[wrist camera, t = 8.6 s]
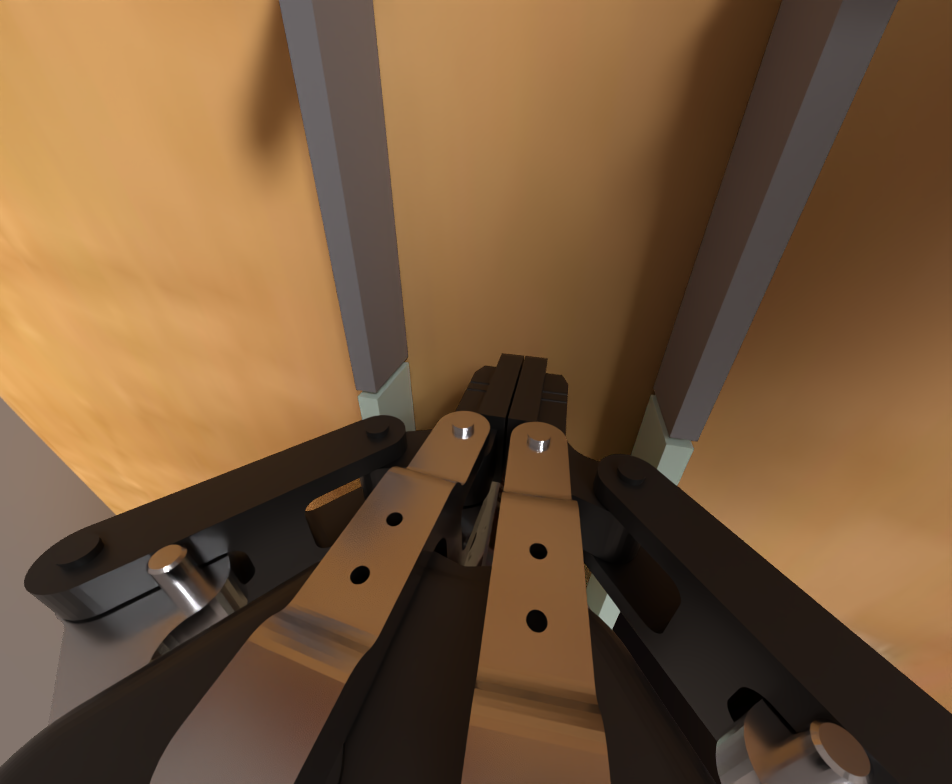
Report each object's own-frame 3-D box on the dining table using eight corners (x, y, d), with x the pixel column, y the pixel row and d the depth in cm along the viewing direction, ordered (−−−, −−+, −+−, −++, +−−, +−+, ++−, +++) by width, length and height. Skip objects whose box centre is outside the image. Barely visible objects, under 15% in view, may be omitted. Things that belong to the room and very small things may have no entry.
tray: (673, 397, 14) (694, 448, 11) (595, 605, 22) (597, 661, 20) (391, 360, 16) (357, 396, 13) (417, 562, 24) (399, 607, 22)
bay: (960, -171, 7) (1593, -726, 2) (710, 395, 13) (769, 498, 9) (292, -83, 9) (65, -278, 5) (366, 351, 16) (292, 416, 12)
